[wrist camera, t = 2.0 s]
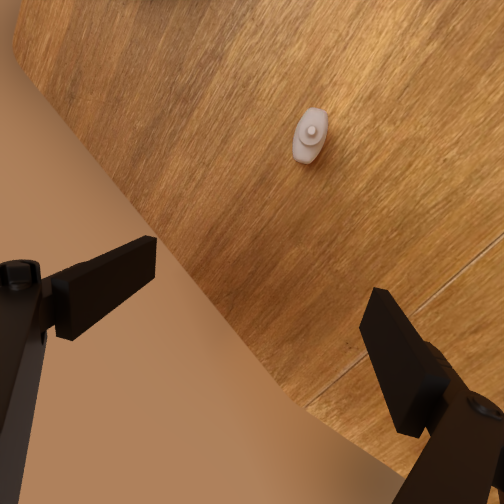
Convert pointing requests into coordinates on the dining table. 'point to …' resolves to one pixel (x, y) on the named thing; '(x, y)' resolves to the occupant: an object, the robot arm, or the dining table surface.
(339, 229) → the dining table surface
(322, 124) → the eye dropper bottle
